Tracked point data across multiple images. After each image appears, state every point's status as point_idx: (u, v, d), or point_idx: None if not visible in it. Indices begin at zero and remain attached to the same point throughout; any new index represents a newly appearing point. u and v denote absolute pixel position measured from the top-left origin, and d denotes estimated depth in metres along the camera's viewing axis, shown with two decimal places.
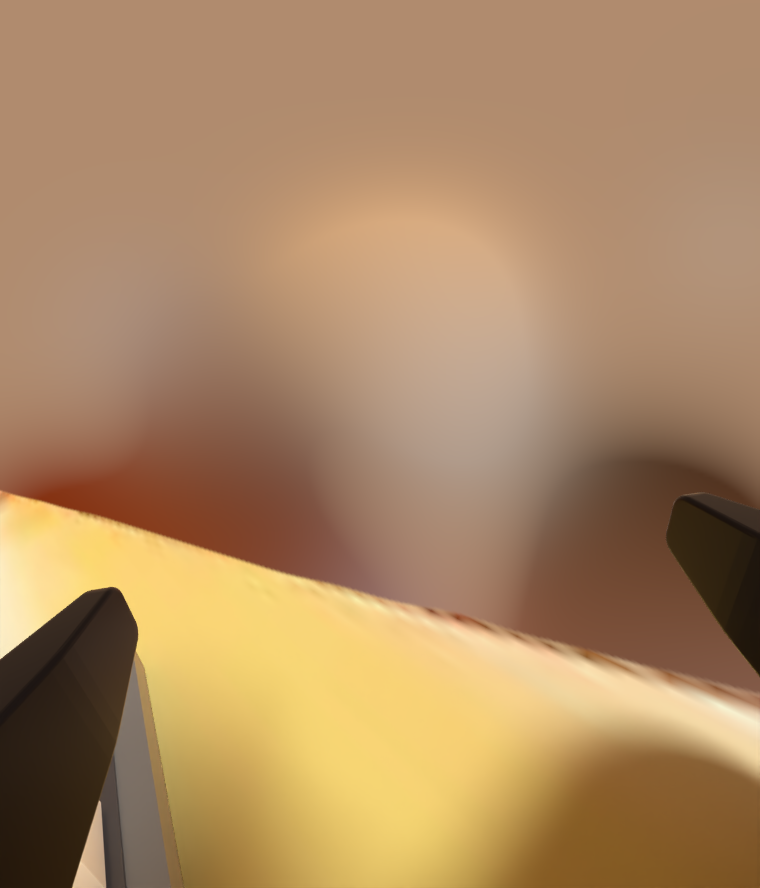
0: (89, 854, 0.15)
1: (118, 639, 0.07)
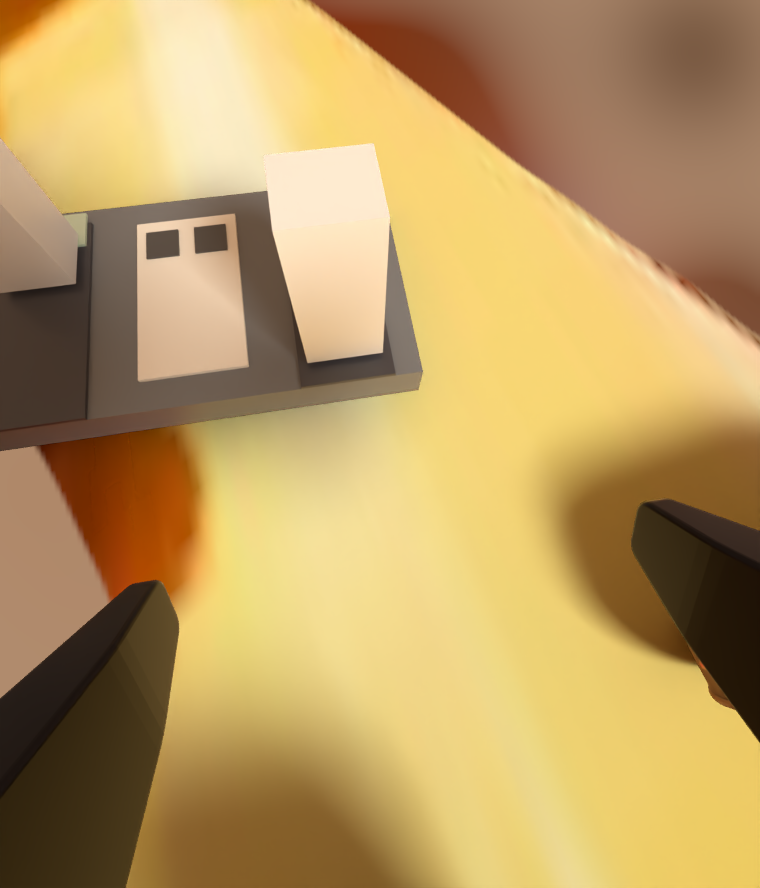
0: None
1: (163, 631, 0.07)
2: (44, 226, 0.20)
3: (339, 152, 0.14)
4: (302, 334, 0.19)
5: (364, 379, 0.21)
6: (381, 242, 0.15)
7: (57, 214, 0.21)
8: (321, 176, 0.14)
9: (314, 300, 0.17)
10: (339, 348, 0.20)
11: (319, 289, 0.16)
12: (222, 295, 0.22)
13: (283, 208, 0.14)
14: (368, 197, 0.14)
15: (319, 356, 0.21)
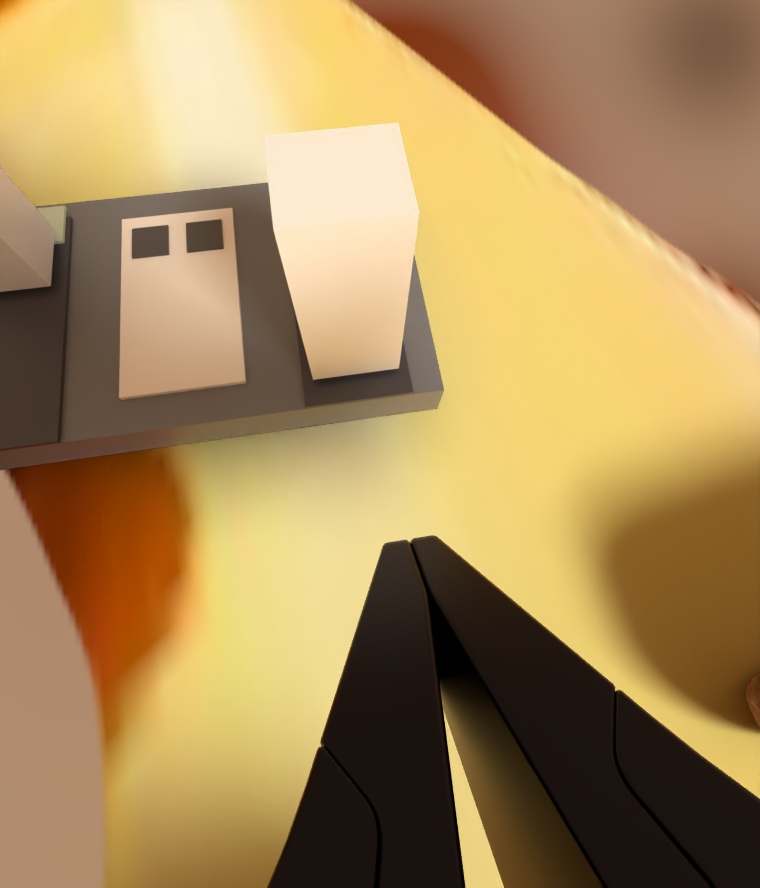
0: None
1: None
2: (12, 220, 0.18)
3: (356, 133, 0.12)
4: (308, 349, 0.16)
5: (378, 398, 0.19)
6: (406, 244, 0.12)
7: (29, 207, 0.19)
8: (333, 162, 0.11)
9: (323, 311, 0.14)
10: (350, 364, 0.18)
11: (329, 298, 0.14)
12: (217, 300, 0.20)
13: (287, 201, 0.11)
14: (392, 188, 0.11)
15: (326, 373, 0.18)
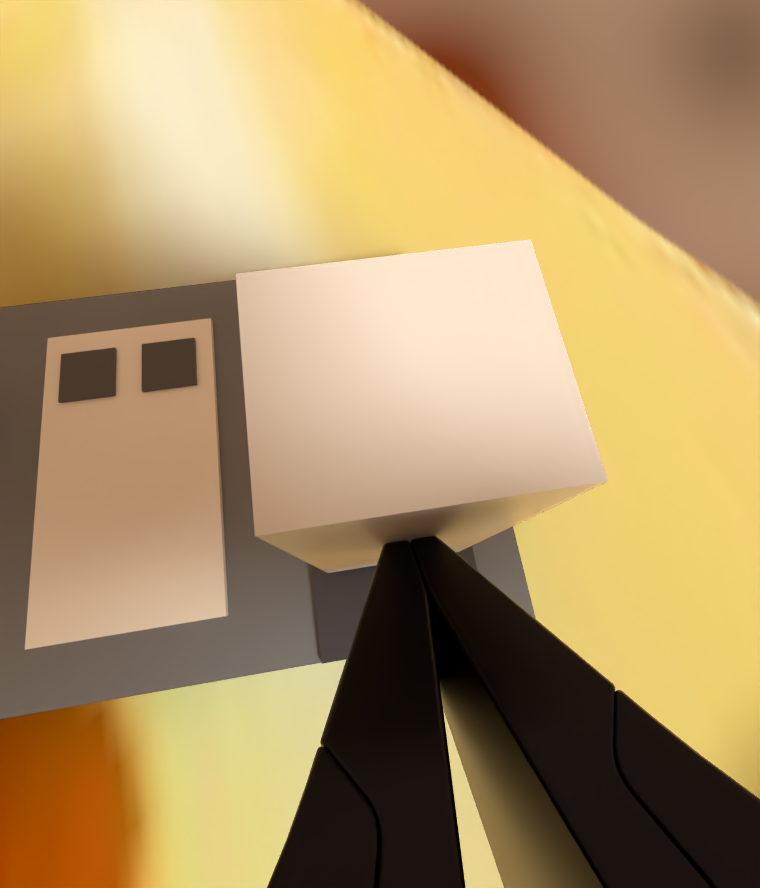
0: None
1: None
2: None
3: (442, 264, 0.05)
4: (323, 567, 0.10)
5: None
6: (548, 503, 0.05)
7: None
8: (396, 342, 0.05)
9: (354, 552, 0.08)
10: None
11: (369, 547, 0.07)
12: (185, 473, 0.13)
13: (289, 449, 0.05)
14: (536, 409, 0.05)
15: (349, 568, 0.12)
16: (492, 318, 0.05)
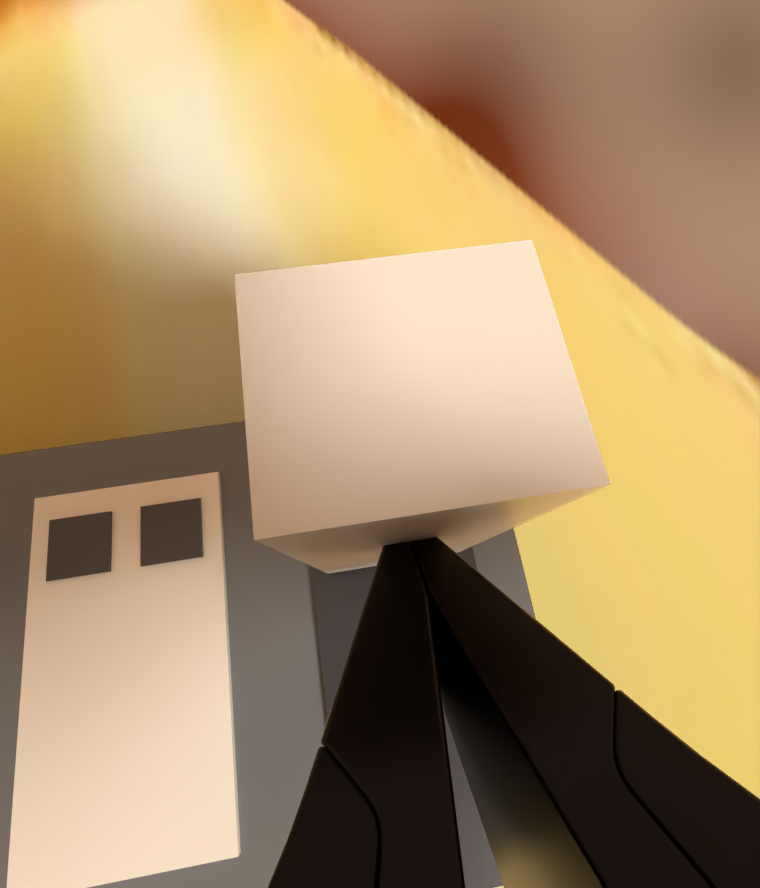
0: None
1: None
2: None
3: (443, 265, 0.05)
4: (322, 568, 0.10)
5: (479, 886, 0.10)
6: (550, 505, 0.05)
7: None
8: (396, 344, 0.05)
9: (354, 555, 0.08)
10: None
11: (369, 549, 0.07)
12: (190, 669, 0.11)
13: (288, 452, 0.05)
14: (538, 412, 0.05)
15: (349, 569, 0.12)
16: (493, 319, 0.05)
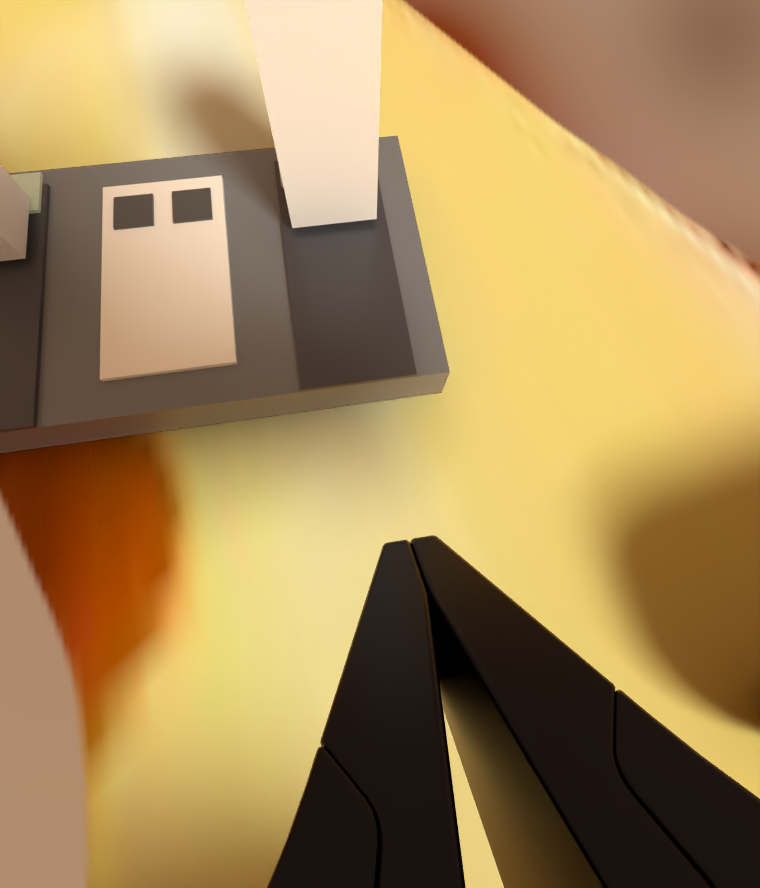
0: None
1: None
2: None
3: None
4: (284, 178, 0.16)
5: (378, 380, 0.17)
6: (373, 21, 0.12)
7: None
8: None
9: (296, 120, 0.14)
10: (327, 206, 0.18)
11: (301, 100, 0.14)
12: (205, 275, 0.18)
13: None
14: None
15: (305, 218, 0.18)
16: None
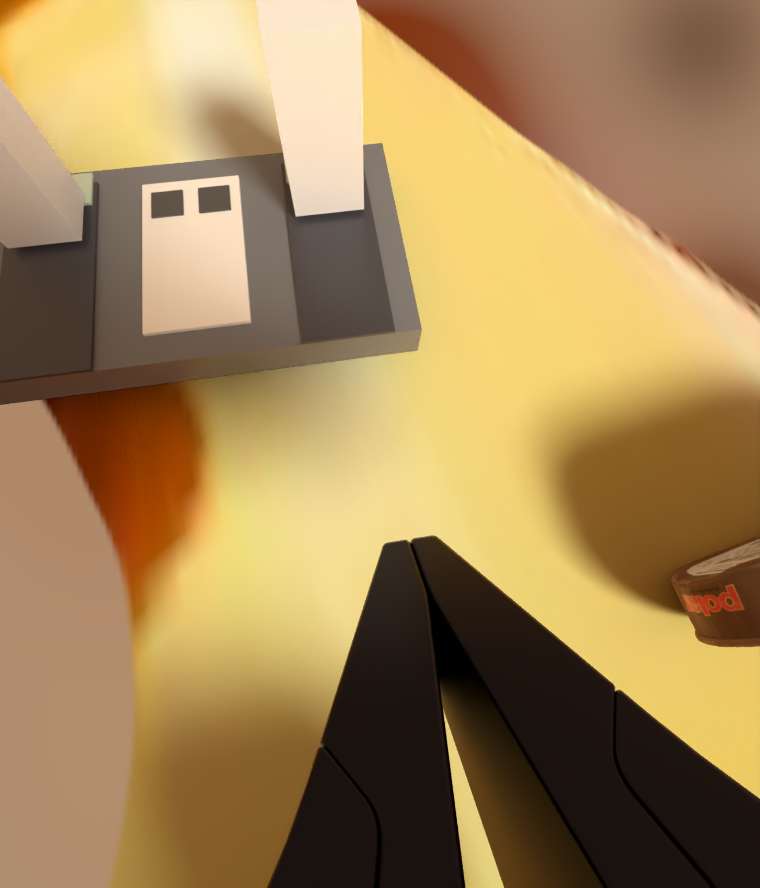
0: None
1: None
2: (51, 180, 0.21)
3: None
4: (290, 175, 0.21)
5: (364, 335, 0.22)
6: (355, 58, 0.17)
7: (64, 170, 0.22)
8: None
9: (299, 129, 0.19)
10: (324, 198, 0.22)
11: (303, 115, 0.18)
12: (225, 253, 0.23)
13: (269, 17, 0.16)
14: (343, 10, 0.16)
15: (306, 208, 0.23)
16: None
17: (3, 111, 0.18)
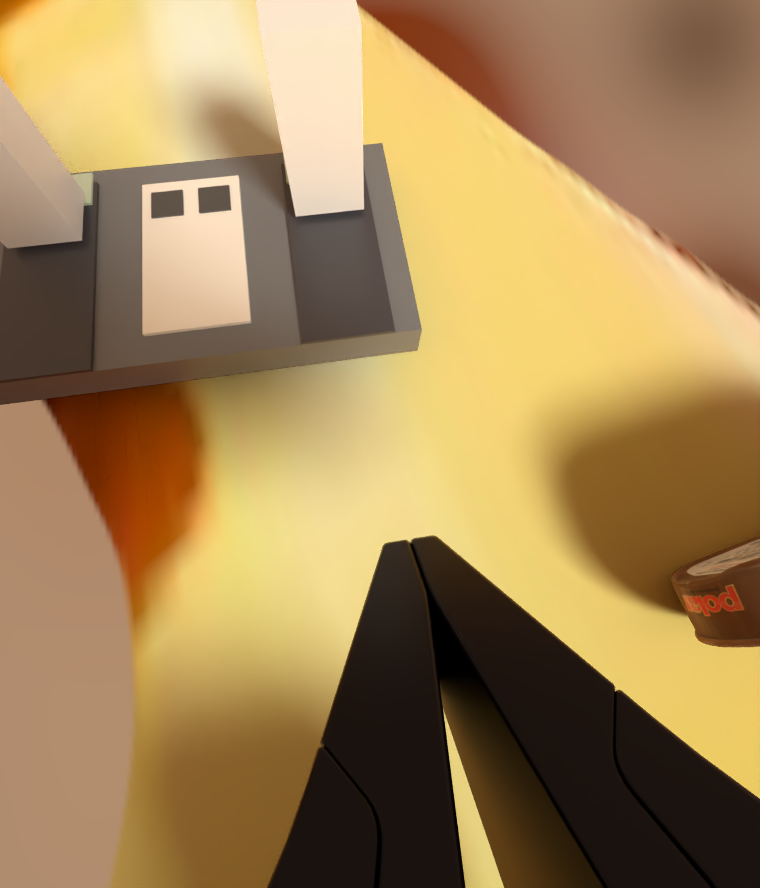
0: None
1: None
2: (51, 180, 0.21)
3: None
4: (289, 175, 0.21)
5: (364, 335, 0.22)
6: (355, 58, 0.17)
7: (64, 170, 0.22)
8: None
9: (299, 129, 0.19)
10: (324, 198, 0.22)
11: (303, 115, 0.18)
12: (225, 253, 0.23)
13: (269, 17, 0.16)
14: (343, 10, 0.16)
15: (306, 208, 0.23)
16: None
17: (3, 111, 0.18)
